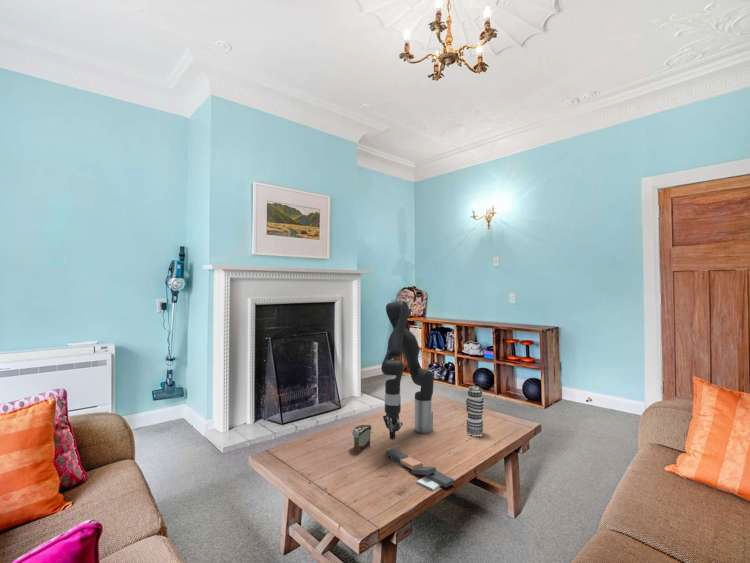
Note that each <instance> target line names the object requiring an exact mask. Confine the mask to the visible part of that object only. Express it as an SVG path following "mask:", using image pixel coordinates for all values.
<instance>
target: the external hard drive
mask: <svg viewBox="0 0 750 563" xmlns="http://www.w3.org/2000/svg"><path fill="white" fill-rule="evenodd" d="M445 475H446V474H445ZM446 476H448V477H450V476H449V475H446ZM416 485H418V486H421V487H423V488H426V489H427V490H430V491H432V492H434V491H436V490H438V488H440V487H441V486H442V485H440V484H438V483H436V482H434V481H432V480H431V479H429V478H427V475H424V476H423V477H421V478H420V479H418V480H416Z"/></svg>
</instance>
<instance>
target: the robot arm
mask: <svg viewBox="0 0 750 563" xmlns="http://www.w3.org/2000/svg"><path fill="white" fill-rule="evenodd" d="M385 311H386V316H387V317H388V320H389V322H390V324H391V327H392V328H393V331H391V333H390V335H389V337H388V342H387V347H386V348H387V349H386V354H385V356H384V358H383V361H382V363H381V368H380V369H381V373H382V374H383V375H385V376H395V377H394V378H390V379H387V380H385V383H384V384H385V385H384V386H385V389H384V392H385V393H384V413H385V415H383V416H382V418H383V421H384V424H385V426H386V429H388V431H389V440H392V441H393V440H395V439H396V432H399V431H400V429H401V428H402V427H403V424H404V423H403V422H402V421H400V413H401V408H402V406H401V381H402V376H403V373H404V370H405V365H404V364H405V363H404V362H403V361H402V360H400V359H396V358H399V357H401V356H402V353H403V355H404V358H405V361H406V363H407V366H408V370H409V372H410V373H409V374H410V378H411V381H412V382H413V384H415V385H416V386H419V387H420V391H419V390H418V391H417V392H415V394H414V431H415V432H416V433H421V434H428V433H431V432H432V431H433V430H434V412H433V411H432V409H433V407H432V406H433V405H432V404H433V402H432V397H433V393H434V384H435V383H434V381H435V380H434V373H433V372H432V371H431V370H428V369H426V368H425V369H424V368H422V367H421V364H420V362H419V355H420V346H419V342H418V339H417V337H416V336H415V334H414V333H413V332H412V331H410V330H409V329H408V328H407V323H408V319H409V315H410V308H409V304H408V302H406V300H397V301H393V302H392V301H391V302H389V303H387V304H386V306H385Z"/></svg>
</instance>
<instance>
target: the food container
mask: <svg viewBox="0 0 750 563" xmlns="http://www.w3.org/2000/svg"><path fill="white" fill-rule="evenodd" d="M371 431H372V425H371V424H360V425H356V426H354V427H353V429H352V432H351V433H352V434H351V435H352V436H353V443H354V446H353V447H354V451H355V453H357V454H362V452H364V451H366V450H367V449H368V448H369V447H371V433H372V432H371Z"/></svg>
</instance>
